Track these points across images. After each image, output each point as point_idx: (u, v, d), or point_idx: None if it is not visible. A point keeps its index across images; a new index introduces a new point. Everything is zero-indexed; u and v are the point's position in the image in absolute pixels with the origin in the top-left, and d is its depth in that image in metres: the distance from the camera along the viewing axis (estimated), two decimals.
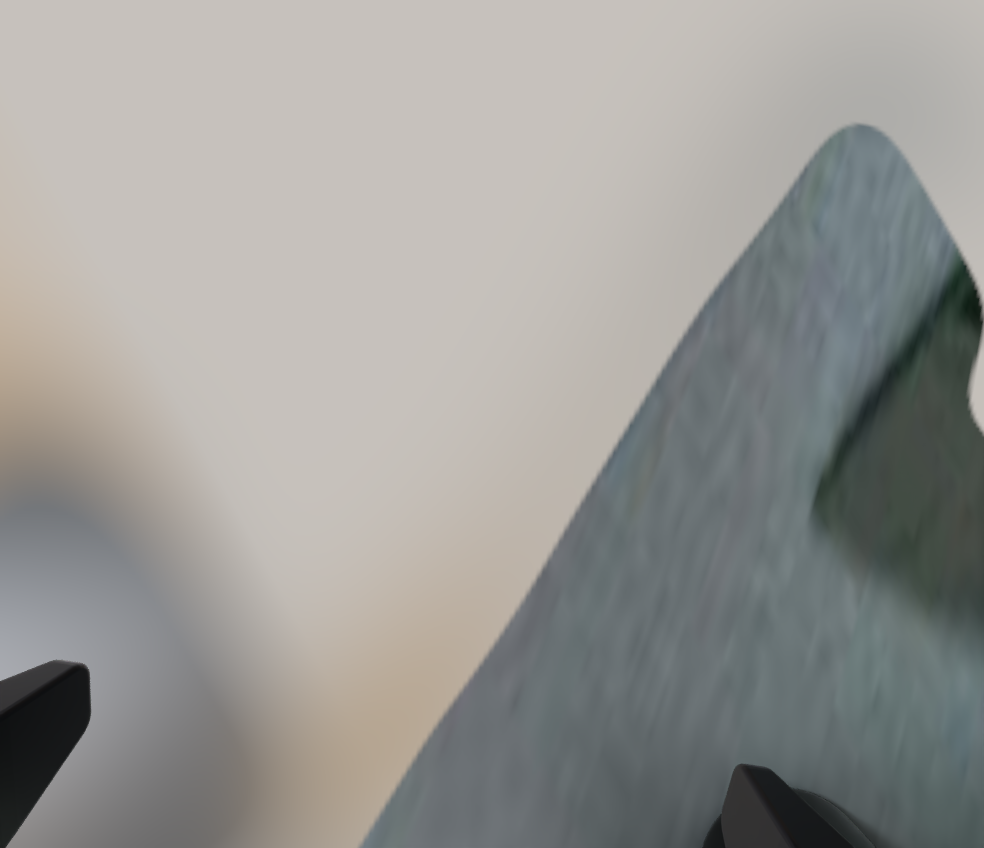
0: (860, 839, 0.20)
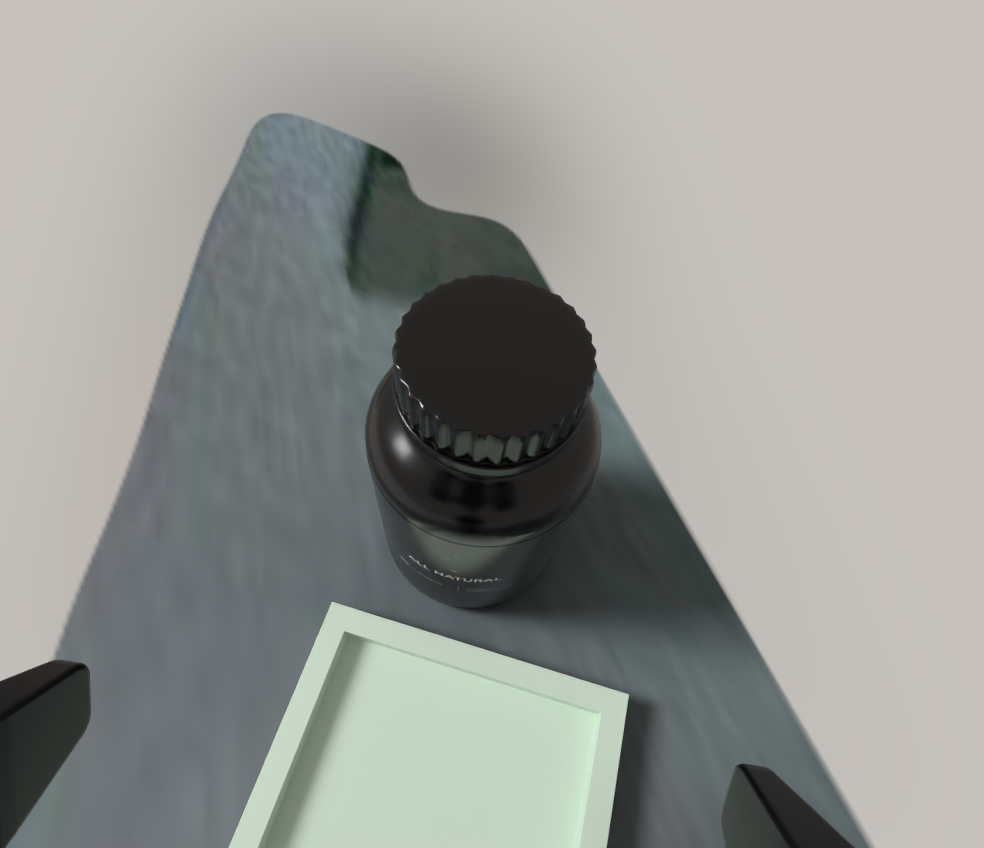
0: None
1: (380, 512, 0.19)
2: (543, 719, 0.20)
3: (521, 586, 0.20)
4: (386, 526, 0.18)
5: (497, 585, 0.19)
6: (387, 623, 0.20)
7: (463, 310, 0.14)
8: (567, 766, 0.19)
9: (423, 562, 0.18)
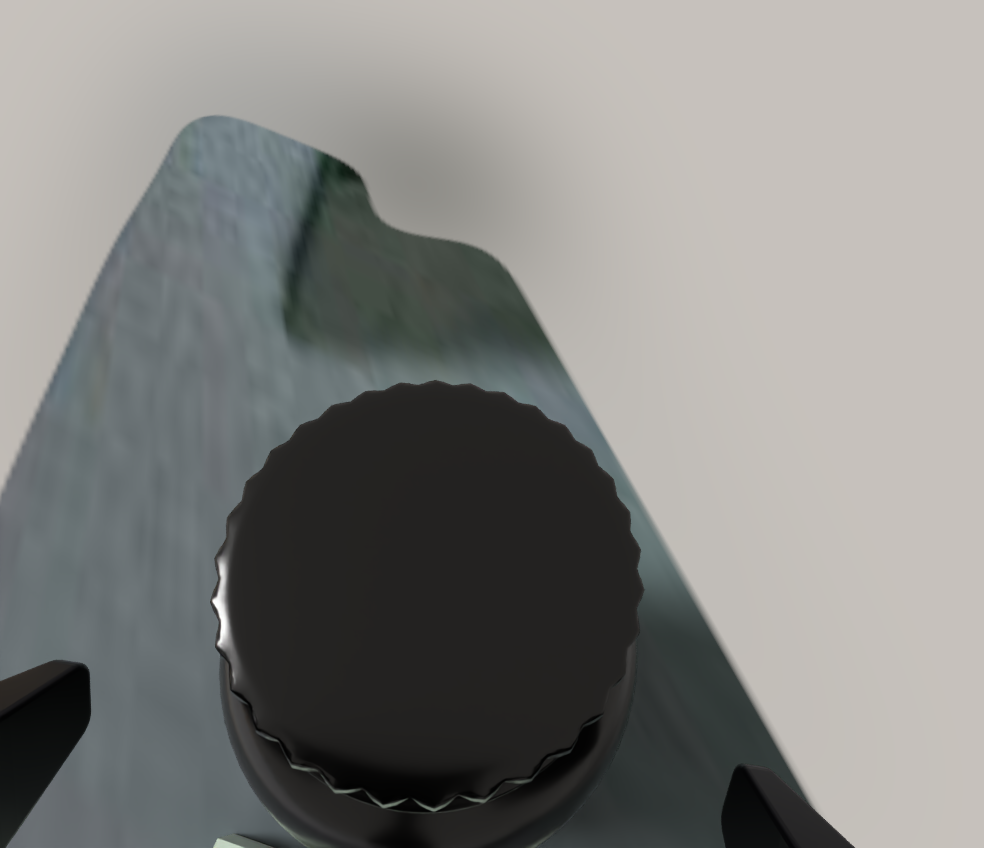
0: None
1: None
2: None
3: None
4: None
5: None
6: None
7: (372, 464, 0.07)
8: None
9: None
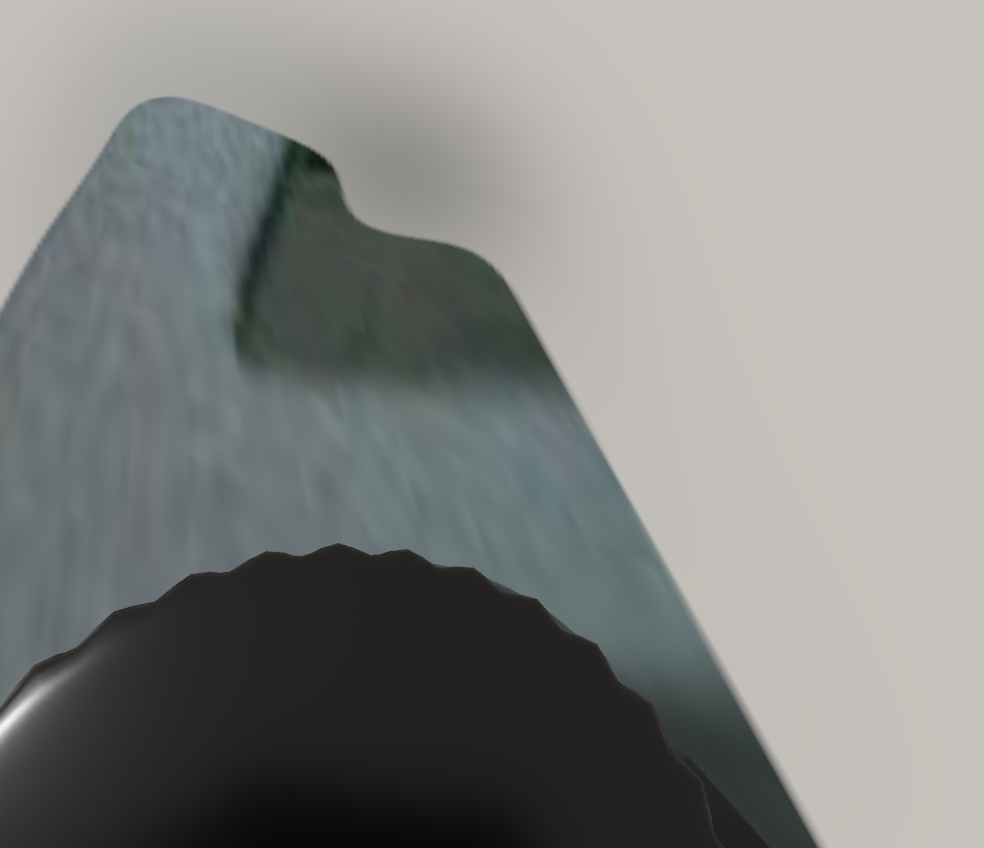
0: None
1: None
2: None
3: None
4: None
5: None
6: None
7: (174, 772, 0.03)
8: None
9: None
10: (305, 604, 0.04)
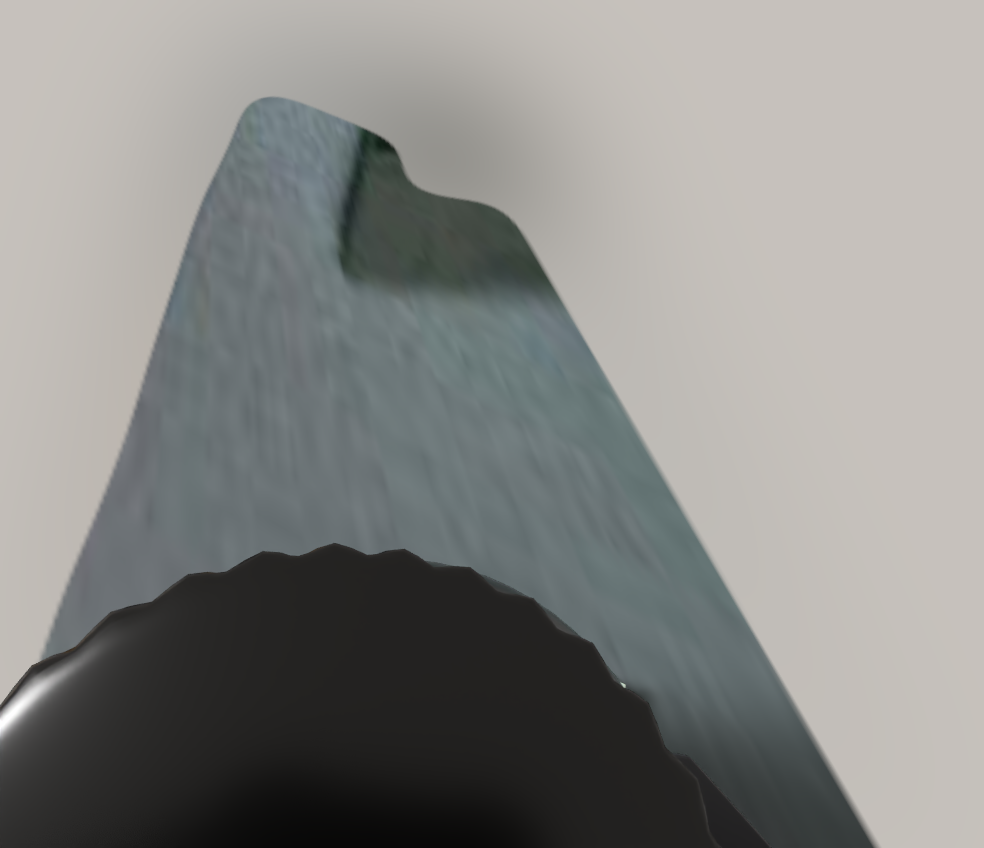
0: None
1: None
2: None
3: None
4: None
5: None
6: None
7: (172, 772, 0.03)
8: None
9: None
10: (302, 604, 0.04)
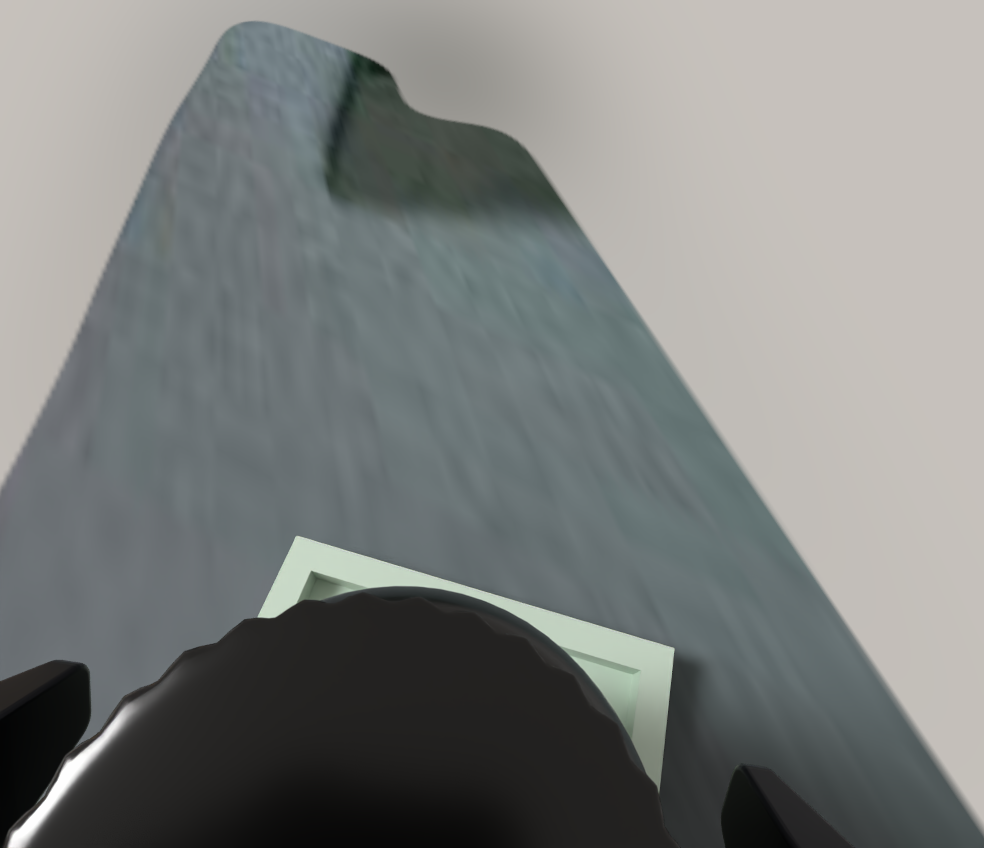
0: None
1: None
2: None
3: None
4: None
5: None
6: (366, 561, 0.16)
7: (240, 781, 0.04)
8: None
9: None
10: (338, 643, 0.04)
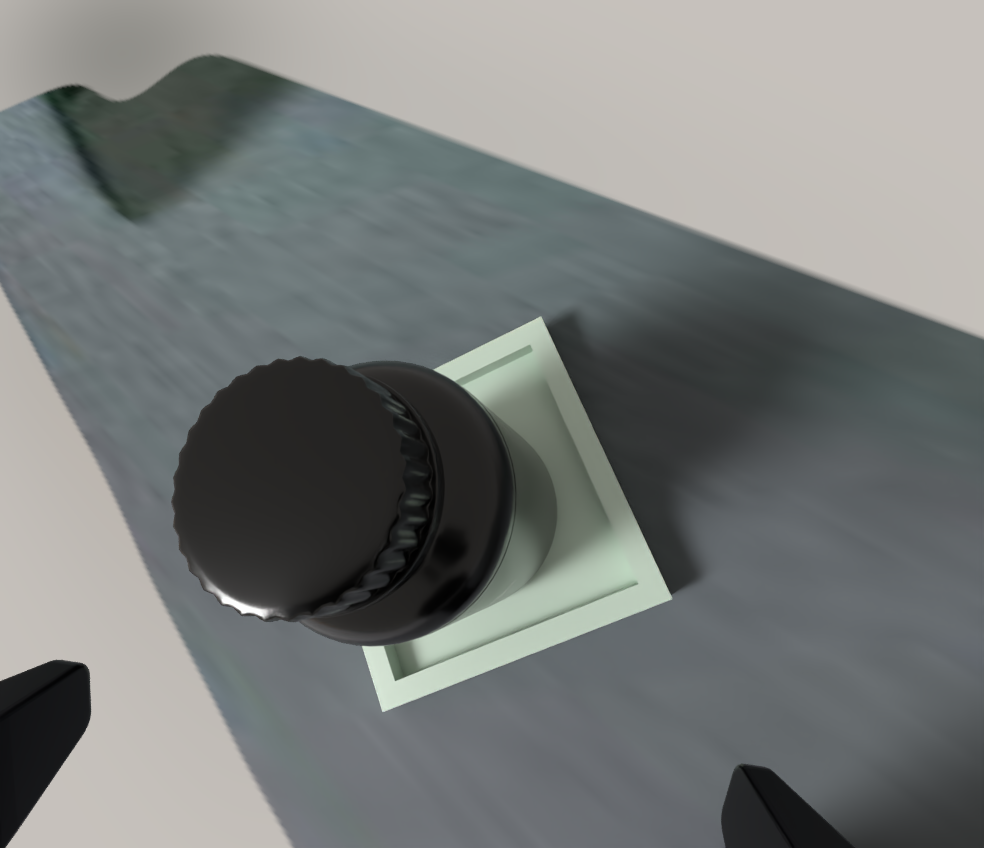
0: None
1: None
2: (499, 385, 0.22)
3: (546, 544, 0.19)
4: None
5: (521, 577, 0.17)
6: None
7: (221, 466, 0.11)
8: (536, 399, 0.22)
9: None
10: (220, 411, 0.11)
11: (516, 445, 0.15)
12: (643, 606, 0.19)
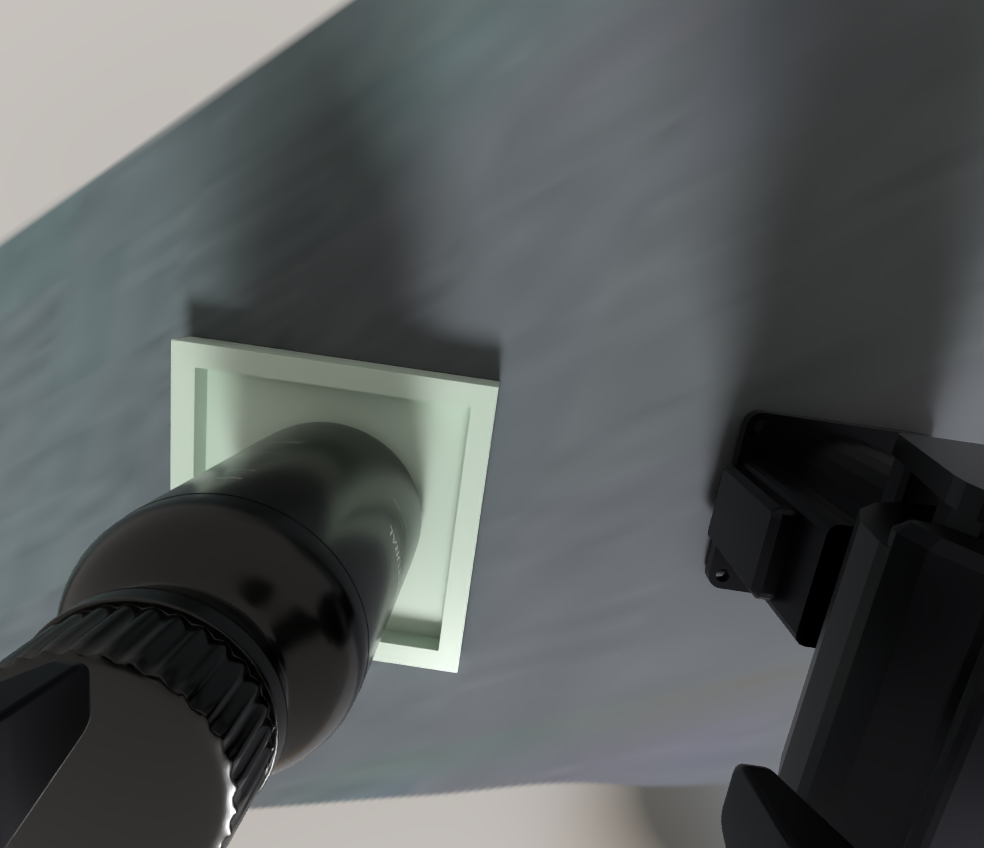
0: None
1: None
2: (225, 415, 0.20)
3: (389, 469, 0.18)
4: None
5: (396, 517, 0.17)
6: None
7: (45, 828, 0.09)
8: (258, 390, 0.20)
9: (390, 614, 0.16)
10: None
11: (254, 471, 0.14)
12: (491, 415, 0.19)
